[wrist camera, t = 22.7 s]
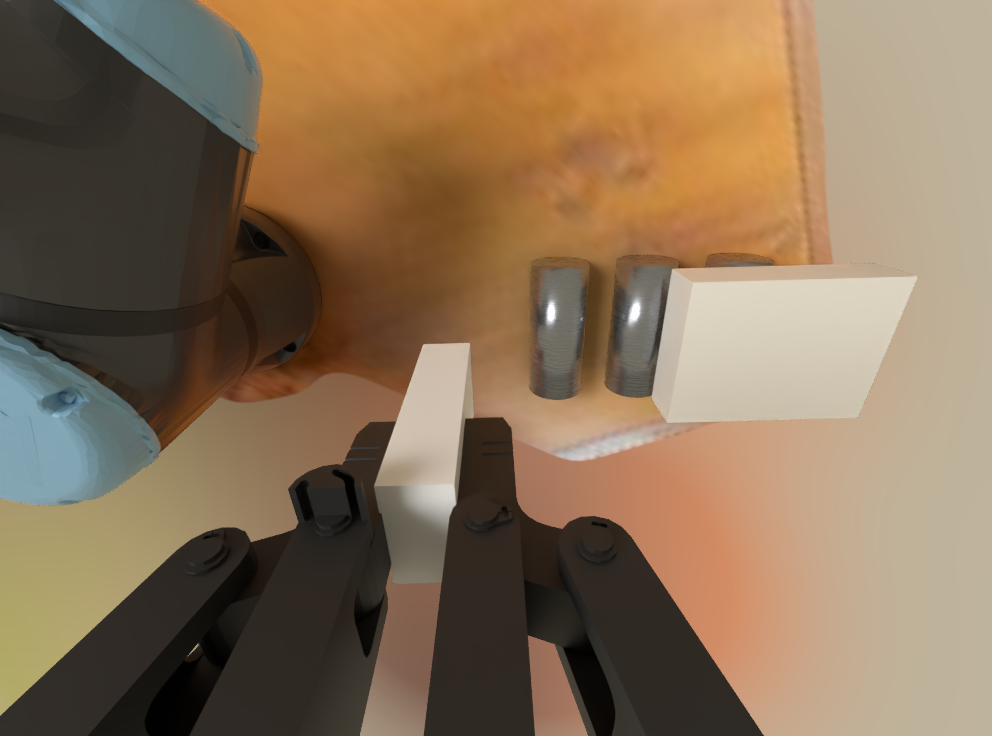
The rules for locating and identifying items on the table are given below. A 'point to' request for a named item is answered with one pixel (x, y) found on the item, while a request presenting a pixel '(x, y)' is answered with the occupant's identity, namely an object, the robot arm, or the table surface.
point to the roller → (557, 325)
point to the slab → (775, 340)
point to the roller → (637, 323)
